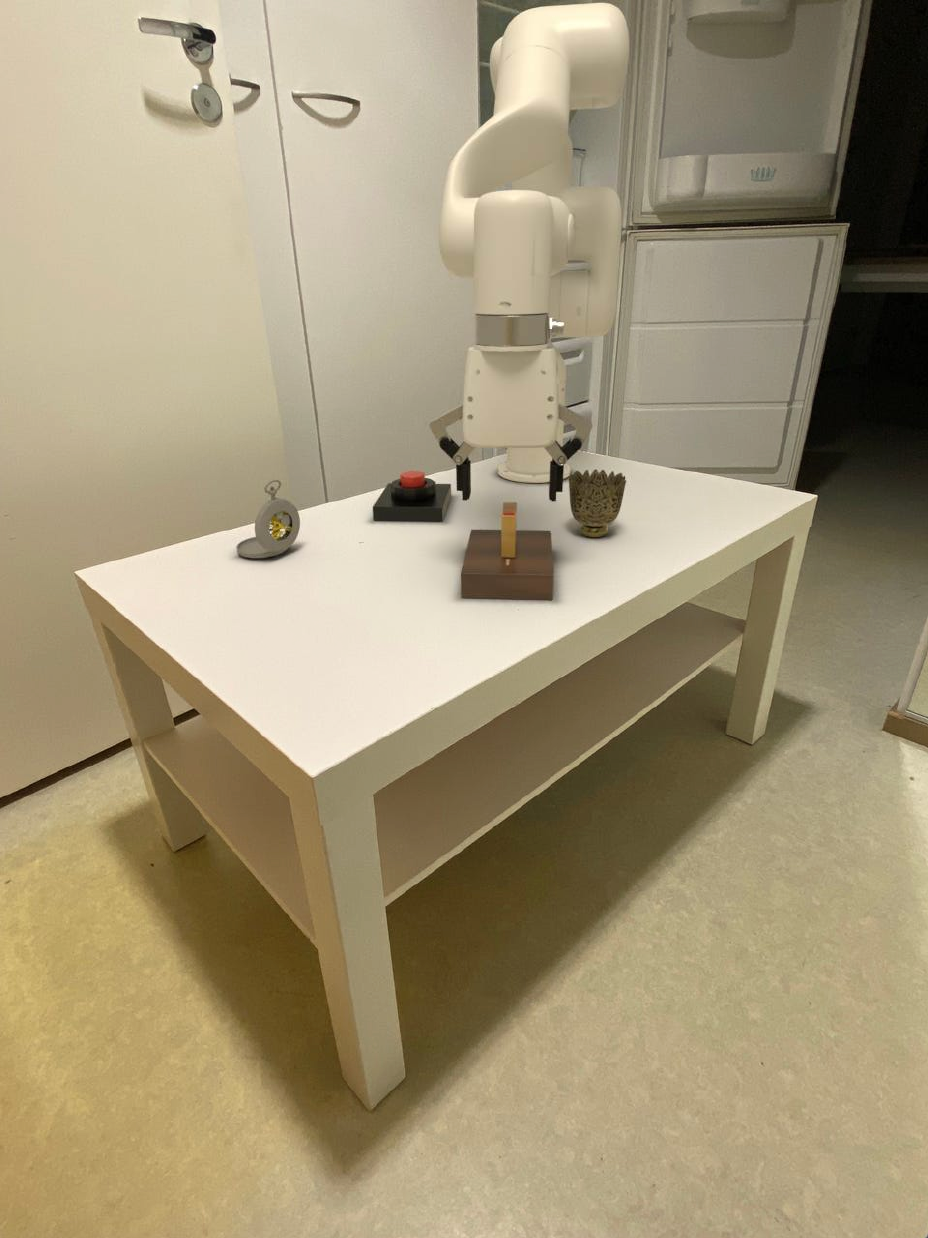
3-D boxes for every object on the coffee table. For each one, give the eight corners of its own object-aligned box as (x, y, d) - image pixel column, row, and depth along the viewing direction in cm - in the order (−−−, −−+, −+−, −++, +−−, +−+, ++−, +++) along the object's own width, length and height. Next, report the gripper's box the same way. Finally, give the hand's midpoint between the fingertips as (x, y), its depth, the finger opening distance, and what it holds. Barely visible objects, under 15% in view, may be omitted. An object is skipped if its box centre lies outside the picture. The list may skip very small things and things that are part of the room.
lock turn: (502, 542, 84) (503, 499, 82) (516, 542, 84) (517, 500, 82) (501, 557, 80) (501, 513, 77) (515, 558, 80) (516, 513, 77)
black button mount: (388, 496, 112) (387, 471, 110) (451, 497, 111) (450, 472, 109) (373, 521, 101) (371, 494, 99) (442, 522, 100) (441, 495, 98)
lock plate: (471, 551, 90) (471, 528, 88) (549, 552, 89) (550, 529, 88) (461, 598, 78) (460, 571, 76) (552, 600, 77) (553, 573, 75)
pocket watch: (246, 542, 94) (234, 468, 90) (308, 542, 94) (299, 468, 89) (226, 566, 87) (211, 487, 82) (293, 565, 87) (282, 486, 82)
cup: (621, 545, 91) (626, 485, 87) (563, 542, 92) (566, 482, 89) (621, 526, 97) (626, 469, 94) (567, 523, 99) (570, 467, 95)
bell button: (403, 482, 106) (402, 470, 105) (426, 482, 106) (426, 470, 105) (399, 488, 103) (398, 477, 102) (423, 489, 102) (422, 477, 102)
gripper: (595, 329, 74) (585, 489, 81) (431, 331, 75) (437, 487, 83) (601, 335, 67) (589, 508, 75) (421, 337, 69) (428, 506, 76)
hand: (509, 497), depth 79 cm, fingers open, 9 cm apart
